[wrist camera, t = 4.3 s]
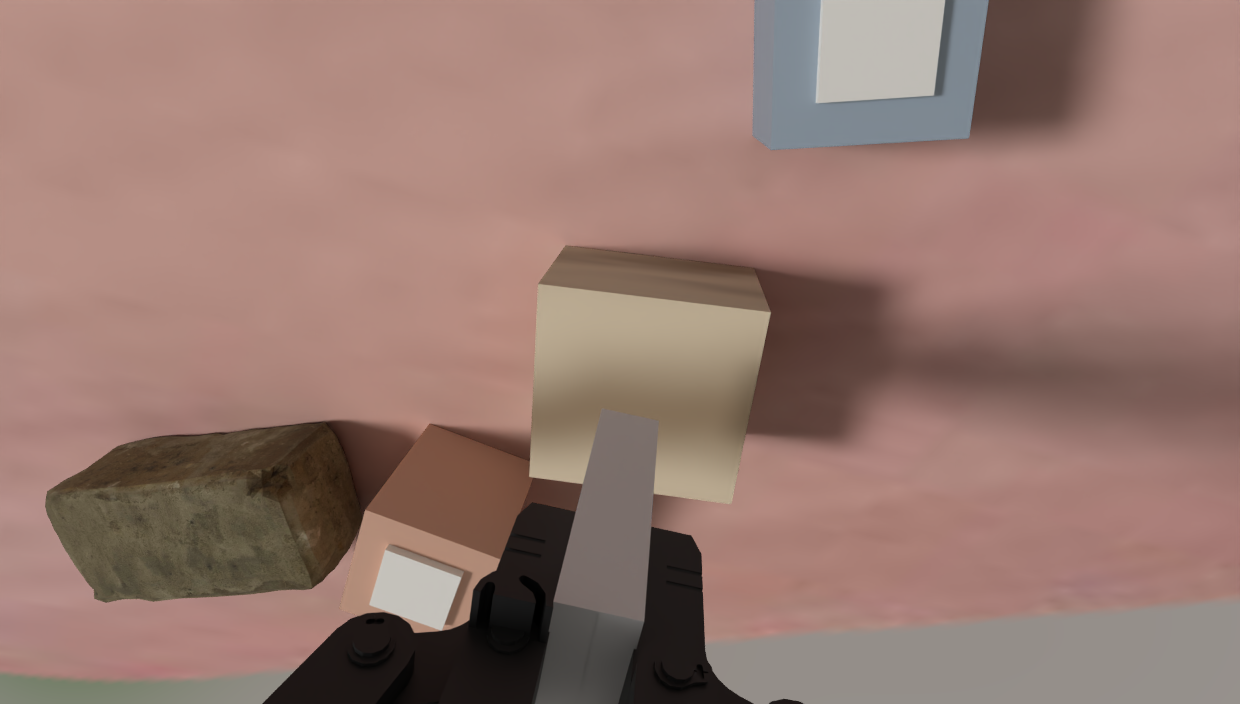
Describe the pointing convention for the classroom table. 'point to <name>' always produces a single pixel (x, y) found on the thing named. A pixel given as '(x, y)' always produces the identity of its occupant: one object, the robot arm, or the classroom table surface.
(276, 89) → the classroom table surface
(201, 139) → the classroom table surface
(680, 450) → the oak block
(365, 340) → the classroom table surface
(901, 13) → the slate block
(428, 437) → the terracotta block
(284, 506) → the stone block
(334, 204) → the classroom table surface
